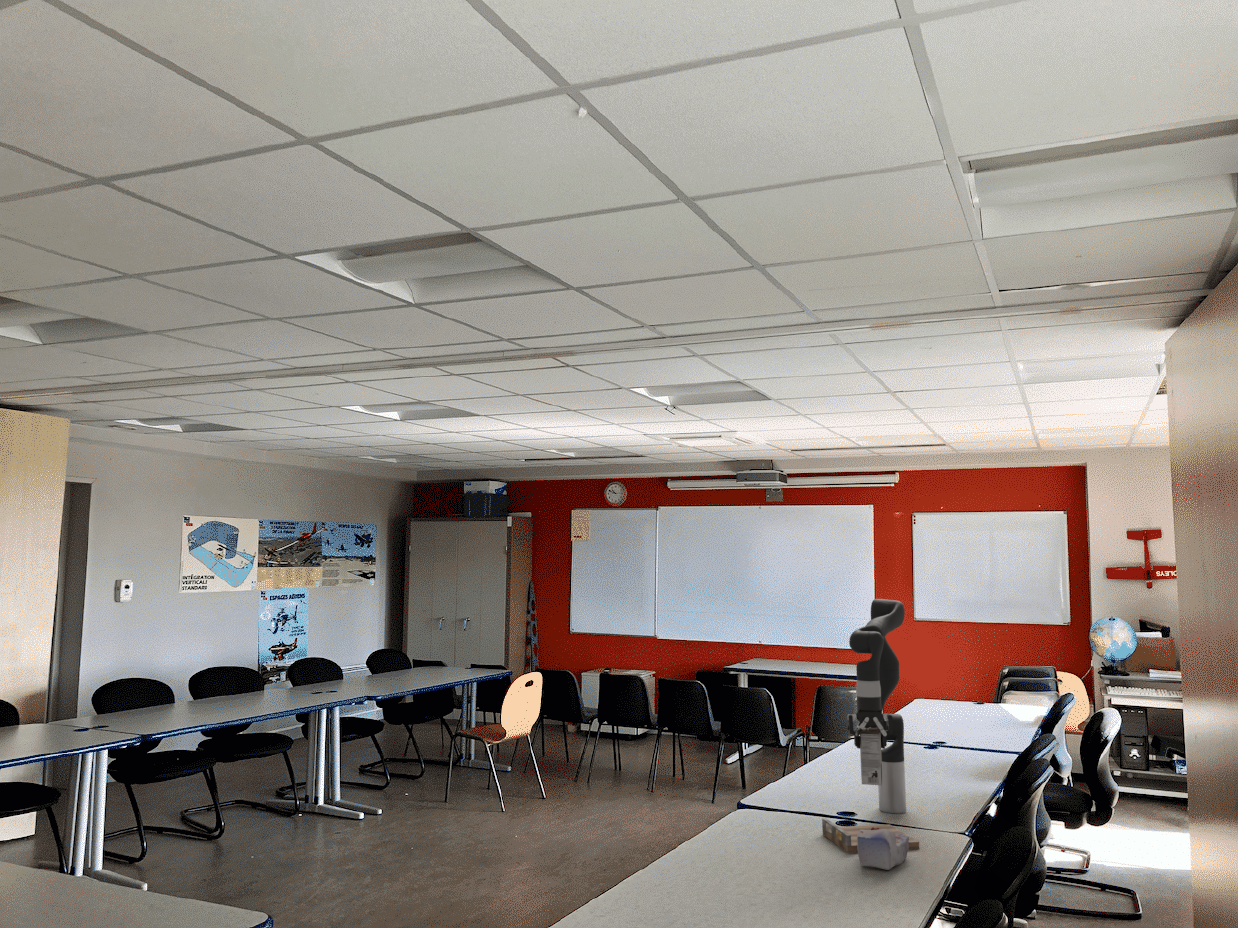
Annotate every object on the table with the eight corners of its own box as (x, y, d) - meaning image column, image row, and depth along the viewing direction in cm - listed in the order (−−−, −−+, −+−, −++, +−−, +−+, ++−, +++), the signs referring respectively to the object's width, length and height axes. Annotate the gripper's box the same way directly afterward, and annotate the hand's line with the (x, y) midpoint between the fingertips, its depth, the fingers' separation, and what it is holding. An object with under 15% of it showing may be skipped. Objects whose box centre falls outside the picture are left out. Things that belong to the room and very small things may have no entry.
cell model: (852, 829, 265) (865, 814, 283) (853, 869, 264) (867, 851, 281) (899, 834, 260) (909, 818, 277) (901, 875, 258) (911, 856, 276)
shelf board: (821, 834, 299) (821, 818, 299) (889, 830, 302) (889, 814, 303) (846, 852, 279) (846, 835, 280) (919, 848, 283) (918, 831, 283)
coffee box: (861, 778, 298) (859, 726, 300) (882, 779, 296) (880, 727, 298) (861, 784, 289) (859, 731, 291) (882, 785, 287) (880, 731, 289)
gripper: (848, 696, 292) (850, 750, 290) (894, 696, 292) (896, 750, 290) (843, 693, 300) (845, 746, 298) (888, 693, 300) (890, 745, 297)
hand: (870, 747), depth 294 cm, fingers closed on coffee box, 7 cm apart
